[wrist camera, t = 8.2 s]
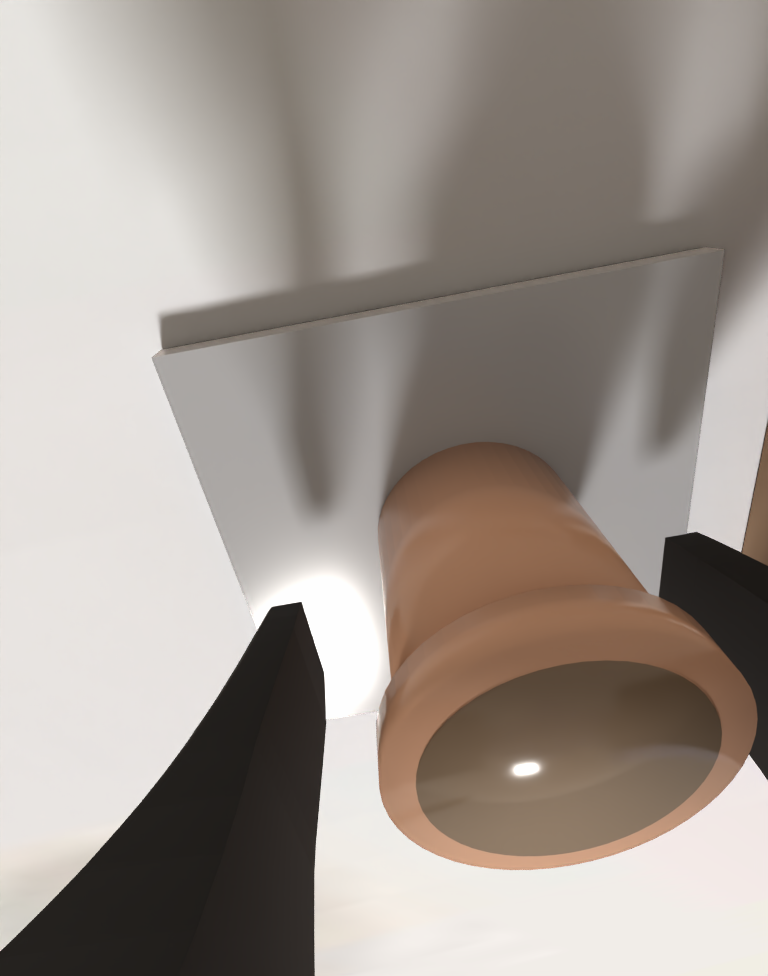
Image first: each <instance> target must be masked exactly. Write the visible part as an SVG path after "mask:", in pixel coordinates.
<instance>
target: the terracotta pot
mask: <svg viewBox="0 0 768 976" xmlns="http://www.w3.org/2000/svg"><path fill="white" fill-rule="evenodd" d="M378 549H379V559H380V570H381V580H382V591H383V601H384V611H385V622H386V632H387V643H388V653H389V664H390V674H391V681H390V683H389V685H388V687H387V688H386V690H385V692H384V695H383V698H382V700H381V703H380V706H379V710H378V716H377V721H376V736H377V754H378V771H379V788H380V794H381V798H382V802H383V805H384V807H385V809H386V811H387V813H388V815H389V817H390V819H391V820H392V821H393V823H394V824H395V825H396V827H397V828H398V829H399V830H400V831H401V832H402V833H403V834H404V835H405V836H407V837H408V838H409V839H410V840H412V841H413V842H414V843H416V844H417V845H419V846H420V847H422V848H424V849H426V850H428V851H430V852H432V853H434V854H436V855H438V856H441V857H444V858H446V859H449V860H452V861H455V862H459V863H463V864H467V865H472V866H478V867H484V868H491V869H506V870H533V869H546V868H556V867H562V866H569V865H575V864H580V863H584V862H589V861H593V860H597V859H601V858H604V857H608V856H611V855H615V854H617V853H620V852H623V851H626V850H629V849H632V848H634V847H636V846H639V845H641V844H643V843H646V842H648V841H650V840H653V839H655V838H657V837H659V836H660V835H662V834H664V833H666V832H668V831H670V830H672V829H674V828H675V827H677V826H678V825H680V824H682V823H683V822H685V821H687V820H688V819H690V818H691V817H692V816H694V815H695V814H696V813H698V812H699V811H700V810H702V809H703V808H705V807H706V806H707V805H708V804H709V803H710V802H711V801H712V800H714V799H715V798H716V797H717V796H718V795H719V794H720V793H721V792H722V791H723V790H724V789H725V788H726V787H727V786H728V784H729V783H730V782H731V781H732V780H733V779H734V777H735V776H736V774H737V773H738V772H739V770H740V769H741V767H742V766H743V764H744V762H745V760H746V758H747V756H748V755H749V753H750V751H751V748H752V745H753V742H754V739H755V735H756V728H757V720H758V718H757V707H756V702H755V699H754V696H753V693H752V690H751V688H750V686H749V685H748V683H747V681H746V680H745V678H744V677H743V675H742V674H741V672H740V671H739V670H738V669H737V668H736V666H735V665H734V664H733V663H732V662H731V660H730V659H729V658H728V657H727V656H726V654H725V653H724V652H723V651H722V650H721V648H720V647H719V646H718V645H717V644H716V642H715V641H714V640H713V639H712V638H711V636H710V635H709V634H708V633H707V632H706V630H705V629H704V628H703V627H702V626H701V625H700V624H699V623H698V622H697V621H696V620H695V619H694V618H693V617H692V616H691V615H689V614H688V613H687V612H685V611H684V610H682V609H681V608H680V607H678V606H677V605H675V604H672V603H670V602H668V601H666V600H664V599H662V598H660V597H658V596H655V595H651V594H649V593H648V592H647V591H646V589H645V588H644V587H643V585H642V584H641V583H640V582H639V580H638V579H637V578H636V576H635V575H634V574H633V572H632V571H631V570H630V569H629V567H628V566H627V565H626V563H625V562H624V561H623V559H622V558H621V557H620V555H619V554H618V553H617V552H616V550H615V549H614V548H613V546H612V545H611V544H610V542H609V541H608V540H607V539H606V537H605V536H604V535H603V533H602V532H601V531H600V529H599V528H598V527H597V525H596V524H595V523H594V522H593V520H592V519H591V518H590V516H589V515H588V514H587V512H586V511H585V510H584V509H583V507H582V506H581V505H580V503H579V502H578V501H577V499H576V498H575V497H574V495H573V494H572V493H571V492H570V490H569V489H568V488H567V486H566V485H565V484H564V482H563V481H562V480H561V479H560V477H559V476H558V475H557V473H556V472H555V471H554V470H553V469H552V468H551V467H550V466H549V465H548V464H547V463H546V462H545V461H543V460H542V459H541V458H540V457H538V456H537V455H535V454H533V453H531V452H529V451H527V450H525V449H522V448H519V447H517V446H513V445H509V444H504V443H496V442H474V443H468V444H461V445H458V446H454V447H450V448H447V449H445V450H442V451H440V452H437V453H435V454H433V455H431V456H429V457H428V458H426V459H424V460H422V461H421V462H419V463H418V464H417V465H415V466H414V467H412V468H411V469H410V470H409V471H408V472H407V473H406V474H405V475H404V476H403V477H402V478H401V479H400V480H399V481H398V482H397V484H396V485H395V486H394V487H393V489H392V490H391V492H390V493H389V495H388V497H387V499H386V501H385V503H384V505H383V507H382V510H381V514H380V517H379V523H378Z"/></svg>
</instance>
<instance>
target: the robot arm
mask: <svg viewBox="0 0 768 976" xmlns="http://www.w3.org/2000/svg"><path fill="white" fill-rule="evenodd" d="M659 597H660V598H662V599H664V600H666V601H668V602H670V603H672V604H675V605H677V606H678V607H680V608H681V609H682V610H684V611H685V612H687V613H688V614H689V615H691V616H692V617H693V618H694V619H695V620H696V621H697V622H698V623H699V624H700V625H701V626H702V627H703V628H704V629H705V630H706V632H707V633H708V634H709V635H710V636H711V638H712V639H713V640H714V641H715V642H716V644H717V645H718V646H719V647H720V648H721V650H722V651H723V652H724V653H725V654H726V656H727V657H728V658H729V659H730V660H731V662H732V663H733V664H734V665H735V666H736V668H737V669H738V670H739V671H740V672H741V674H742V675H743V677H744V678H745V680H746V681H747V683H748V685H749V686H750V688H751V690H752V693H753V696H754V699H755V702H756V707H757V718H758V720H757V728H756V735H755V739H754V742H753V745H752V748H751V751H750V753H749V755H750V756H751V758H752V759H753V760H754V762H755V763H756V764H757V766H758V767H759V768H760V770H761V771H762V773H763V774H764V776H765V777H766V779H767V780H768V566H767V565H765V564H763V563H761V562H759V561H757V560H755V559H753V558H751V557H749V556H747V555H745V554H743V553H741V552H739V551H737V550H735V549H733V548H730V547H728V546H726V545H724V544H722V543H720V542H718V541H716V540H714V539H711V538H709V537H707V536H705V535H702V534H700V533H698V532H694V533H688V534H683V535H677V536H671V537H666V538H665V544H664V553H663V562H662V571H661V580H660V589H659ZM325 730H326V697H325V673H324V670H323V666H322V663H321V660H320V657H319V654H318V651H317V648H316V645H315V642H314V638H313V635H312V632H311V629H310V626H309V623H308V620H307V617H306V613H305V610H304V607H303V604H302V601H301V602H296V603H290V604H284V605H279V606H273V607H271V608H270V610H269V611H268V612H267V614H266V616H265V618H264V619H263V621H262V623H261V625H260V626H259V628H258V630H257V632H256V634H255V635H254V637H253V639H252V641H251V642H250V644H249V646H248V648H247V649H246V651H245V653H244V654H243V656H242V658H241V660H240V661H239V663H238V665H237V666H236V668H235V670H234V671H233V673H232V674H231V676H230V678H229V679H228V681H227V683H226V684H225V686H224V687H223V689H222V691H221V692H220V694H219V696H218V697H217V699H216V700H215V702H214V703H213V705H212V706H211V708H210V709H209V711H208V712H207V714H206V715H205V717H204V718H203V720H202V721H201V722H200V724H199V725H198V727H197V728H196V730H195V731H194V733H193V734H192V736H191V737H190V739H189V740H188V742H187V743H186V744H185V746H184V747H183V749H182V750H181V751H180V753H179V754H178V755H177V757H176V758H175V759H174V761H173V762H172V763H171V765H170V766H169V767H168V769H167V770H166V771H165V773H164V774H163V775H162V777H161V778H160V779H159V780H158V782H157V783H156V784H155V785H154V787H153V788H152V789H151V790H150V792H149V793H148V794H147V795H146V797H145V798H144V799H143V800H142V802H141V803H140V804H139V805H138V806H137V808H136V809H135V810H134V811H133V812H132V813H131V815H130V816H129V817H128V818H127V819H126V820H125V822H124V823H123V824H122V825H121V826H120V827H119V829H118V830H117V831H116V832H115V833H114V834H113V835H112V836H111V838H110V839H109V840H108V841H107V842H106V843H105V844H104V845H103V847H102V848H101V849H100V850H99V851H98V852H97V853H96V854H95V856H94V857H93V858H92V859H91V860H90V861H89V862H88V863H87V865H86V866H85V867H84V868H83V869H82V870H81V871H80V872H79V873H78V874H77V875H76V876H75V877H74V878H73V879H72V880H71V881H70V882H69V884H68V885H67V886H66V887H65V888H64V889H63V890H62V891H61V892H60V893H59V894H58V895H57V896H56V897H55V898H54V899H53V900H52V901H51V902H50V903H49V904H48V905H47V906H46V907H45V908H44V909H43V910H42V911H41V912H40V913H39V914H38V915H37V916H36V917H35V918H34V919H33V920H32V921H31V922H30V923H29V924H28V925H27V926H26V927H25V928H24V929H23V930H22V931H21V932H20V933H19V934H18V935H17V936H16V937H15V938H14V939H13V940H12V941H11V942H10V943H9V944H8V945H7V946H6V947H4V948H3V949H2V950H1V951H0V976H315V969H314V867H315V847H316V835H317V823H318V812H319V801H320V789H321V778H322V767H323V755H324V743H325Z"/></svg>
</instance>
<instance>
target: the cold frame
mask: <svg viewBox="0 0 768 976" xmlns="http://www.w3.org/2000/svg"><path fill="white" fill-rule="evenodd" d="M742 553H743V554H745V555H747V556H749V557H751V558H753V559H755V560H757V561H759V562H761V563H763V564H765V565H767V566H768V426H767V431H766V436H765V441H764V446H763V451H762V456H761V461H760V466H759V471H758V476H757V481H756V486H755V491H754V496H753V501H752V506H751V511H750V516H749V521H748V525H747V530H746V535H745V540H744V545H743V550H742Z"/></svg>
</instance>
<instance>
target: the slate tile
mask: <svg viewBox="0 0 768 976" xmlns="http://www.w3.org/2000/svg"><path fill="white" fill-rule="evenodd" d="M724 253H725V250H724V249H717V248H709V247H703V248H698V249H692V250H687V251H682V252H677V253H671V254H666V255H661V256H655V257H650V258H645V259H639V260H634V261H629V262H624V263H618V264H613V265H608V266H602V267H597V268H592V269H587V270H581V271H576V272H571V273H565V274H560V275H555V276H549V277H544V278H539V279H534V280H528V281H523V282H518V283H512V284H507V285H502V286H497V287H491V288H486V289H481V290H475V291H470V292H465V293H459V294H454V295H449V296H444V297H438V298H433V299H428V300H422V301H417V302H412V303H406V304H401V305H396V306H391V307H385V308H380V309H375V310H369V311H364V312H359V313H354V314H348V315H343V316H338V317H332V318H327V319H322V320H316V321H311V322H306V323H301V324H295V325H290V326H285V327H279V328H274V329H269V330H264V331H258V332H253V333H248V334H242V335H237V336H232V337H226V338H221V339H216V340H211V341H205V342H200V343H195V344H189V345H184V346H179V347H173V348H168V349H163V350H160V351H159V352H158V353H157V354H155V355H154V356H153V357H152V360H153V363H154V365H155V368H156V370H157V373H158V376H159V378H160V381H161V383H162V386H163V388H164V391H165V394H166V396H167V399H168V401H169V404H170V406H171V409H172V412H173V414H174V417H175V419H176V422H177V424H178V427H179V430H180V432H181V435H182V437H183V440H184V442H185V445H186V448H187V450H188V453H189V455H190V458H191V460H192V463H193V466H194V468H195V471H196V473H197V476H198V479H199V481H200V484H201V486H202V489H203V491H204V494H205V497H206V499H207V502H208V504H209V507H210V509H211V512H212V515H213V517H214V520H215V522H216V525H217V527H218V530H219V533H220V535H221V538H222V540H223V543H224V545H225V548H226V551H227V553H228V556H229V558H230V561H231V563H232V566H233V569H234V571H235V574H236V576H237V579H238V582H239V584H240V587H241V589H242V592H243V594H244V597H245V600H246V602H247V605H248V607H249V610H250V612H251V615H252V618H253V620H254V623H255V625H256V628H257V630H258V628H259V626H260V625H261V623H262V621H263V619H264V618H265V616H266V614H267V612H268V611H269V610H270V608H271V607H273V606H279V605H284V604H290V603H296V602H301V601H302V604H303V607H304V610H305V613H306V617H307V620H308V623H309V626H310V629H311V632H312V635H313V638H314V642H315V645H316V648H317V651H318V654H319V657H320V660H321V663H322V666H323V670H324V673H325V697H326V720H330V719H336V718H342V717H347V716H353V715H359V714H365V713H371V712H377V711H378V710H379V706H380V703H381V700H382V698H383V695H384V692H385V690H386V688H387V687H388V685H389V683H390V681H391V674H390V664H389V653H388V643H387V632H386V622H385V611H384V601H383V591H382V580H381V570H380V559H379V549H378V523H379V517H380V514H381V510H382V507H383V505H384V503H385V501H386V499H387V497H388V495H389V493H390V492H391V490H392V489H393V487H394V486H395V485H396V484H397V482H398V481H399V480H400V479H401V478H402V477H403V476H404V475H405V474H406V473H407V472H408V471H409V470H410V469H411V468H412V467H414V466H415V465H417V464H418V463H419V462H421V461H422V460H424V459H426V458H428V457H429V456H431V455H433V454H435V453H437V452H440V451H442V450H445V449H447V448H450V447H454V446H458V445H461V444H468V443H474V442H496V443H504V444H509V445H513V446H517V447H519V448H522V449H525V450H527V451H529V452H531V453H533V454H535V455H537V456H538V457H540V458H541V459H542V460H543V461H545V462H546V463H547V464H548V465H549V466H550V467H551V468H552V469H553V470H554V471H555V472H556V473H557V475H558V476H559V477H560V479H561V480H562V481H563V482H564V484H565V485H566V486H567V488H568V489H569V490H570V492H571V493H572V494H573V495H574V497H575V498H576V499H577V501H578V502H579V503H580V505H581V506H582V507H583V509H584V510H585V511H586V512H587V514H588V515H589V516H590V518H591V519H592V520H593V522H594V523H595V524H596V525H597V527H598V528H599V529H600V531H601V532H602V533H603V535H604V536H605V537H606V539H607V540H608V541H609V542H610V544H611V545H612V546H613V548H614V549H615V550H616V552H617V553H618V554H619V555H620V557H621V558H622V559H623V561H624V562H625V563H626V565H627V566H628V567H629V569H630V570H631V571H632V572H633V574H634V575H635V576H636V578H637V579H638V580H639V582H640V583H641V584H642V585H643V587H644V588H645V589H646V591H647V592H648V593H649V594H651V595H655V596H658V597H659V589H660V580H661V571H662V562H663V553H664V544H665V538H666V537H671V536H677V535H683V534H687V527H688V519H689V512H690V505H691V497H692V490H693V482H694V475H695V468H696V460H697V453H698V445H699V438H700V431H701V423H702V416H703V408H704V401H705V393H706V386H707V379H708V371H709V364H710V356H711V349H712V342H713V334H714V327H715V319H716V312H717V305H718V297H719V290H720V282H721V275H722V268H723V260H724Z"/></svg>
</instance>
